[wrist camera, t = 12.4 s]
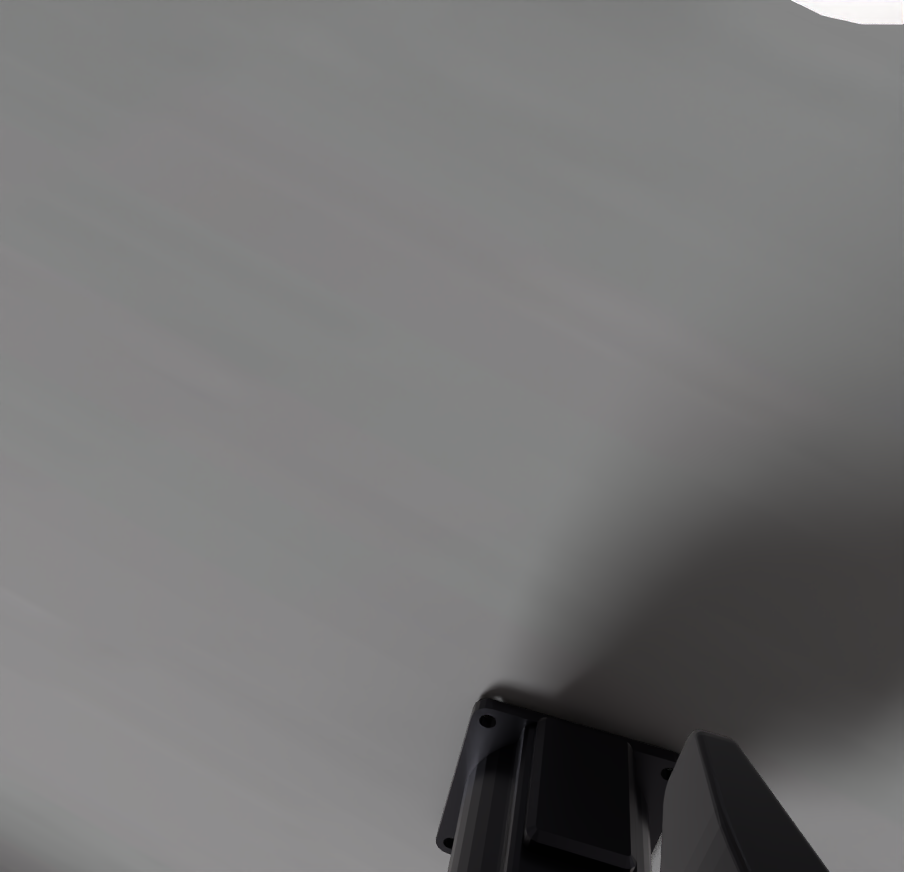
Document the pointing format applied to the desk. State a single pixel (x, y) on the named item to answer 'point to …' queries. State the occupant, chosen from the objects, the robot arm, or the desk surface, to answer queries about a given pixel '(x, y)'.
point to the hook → (859, 10)
